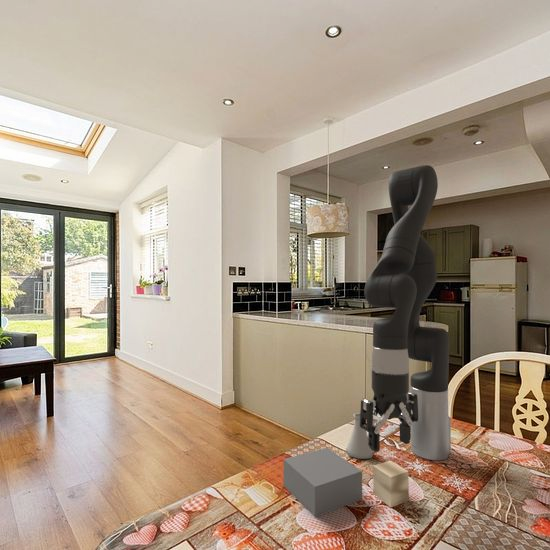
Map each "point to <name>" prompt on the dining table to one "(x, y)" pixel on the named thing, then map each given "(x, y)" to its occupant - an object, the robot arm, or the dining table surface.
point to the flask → (359, 441)
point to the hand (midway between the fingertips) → (389, 446)
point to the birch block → (391, 483)
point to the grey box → (322, 480)
